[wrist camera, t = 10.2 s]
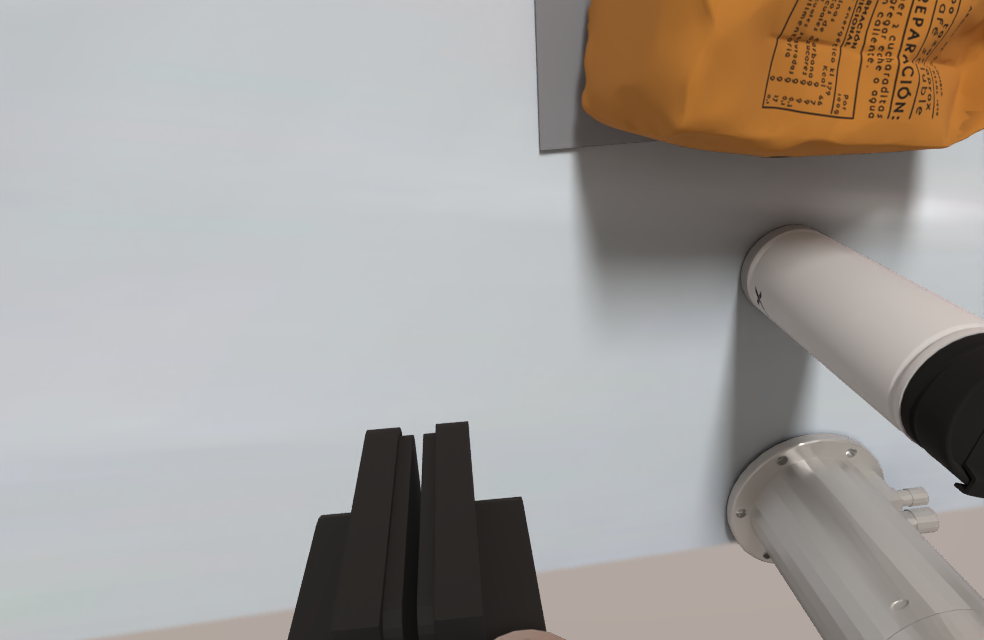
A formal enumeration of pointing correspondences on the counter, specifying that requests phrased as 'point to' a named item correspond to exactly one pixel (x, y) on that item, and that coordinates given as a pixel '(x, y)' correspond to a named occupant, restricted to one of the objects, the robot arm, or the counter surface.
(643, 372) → the counter surface
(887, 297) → the travel mug
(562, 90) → the mat
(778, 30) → the coffee package
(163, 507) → the counter surface
